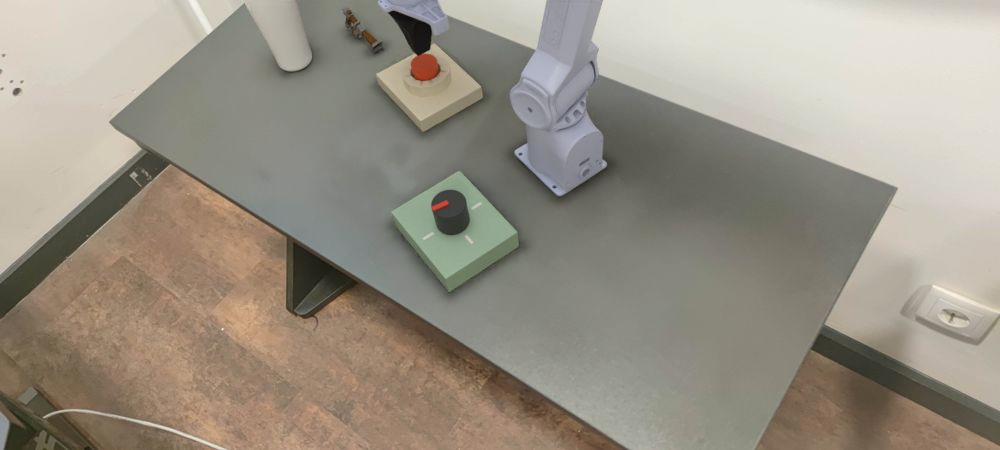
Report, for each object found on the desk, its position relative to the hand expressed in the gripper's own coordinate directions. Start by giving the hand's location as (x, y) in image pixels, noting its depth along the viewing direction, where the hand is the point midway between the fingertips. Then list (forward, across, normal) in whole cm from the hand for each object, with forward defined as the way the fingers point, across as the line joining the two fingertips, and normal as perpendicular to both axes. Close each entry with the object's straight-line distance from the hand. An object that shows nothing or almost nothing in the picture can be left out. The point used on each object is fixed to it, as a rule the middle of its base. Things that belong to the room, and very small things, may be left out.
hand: (421, 50), depth 93 cm
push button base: (+8, 0, 0) cm, 8 cm away
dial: (+5, +23, -11) cm, 26 cm away
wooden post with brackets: (+8, -16, -2) cm, 18 cm away
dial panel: (+8, +23, -11) cm, 27 cm away
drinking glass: (+8, -19, -12) cm, 24 cm away
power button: (+4, 0, 0) cm, 4 cm away
